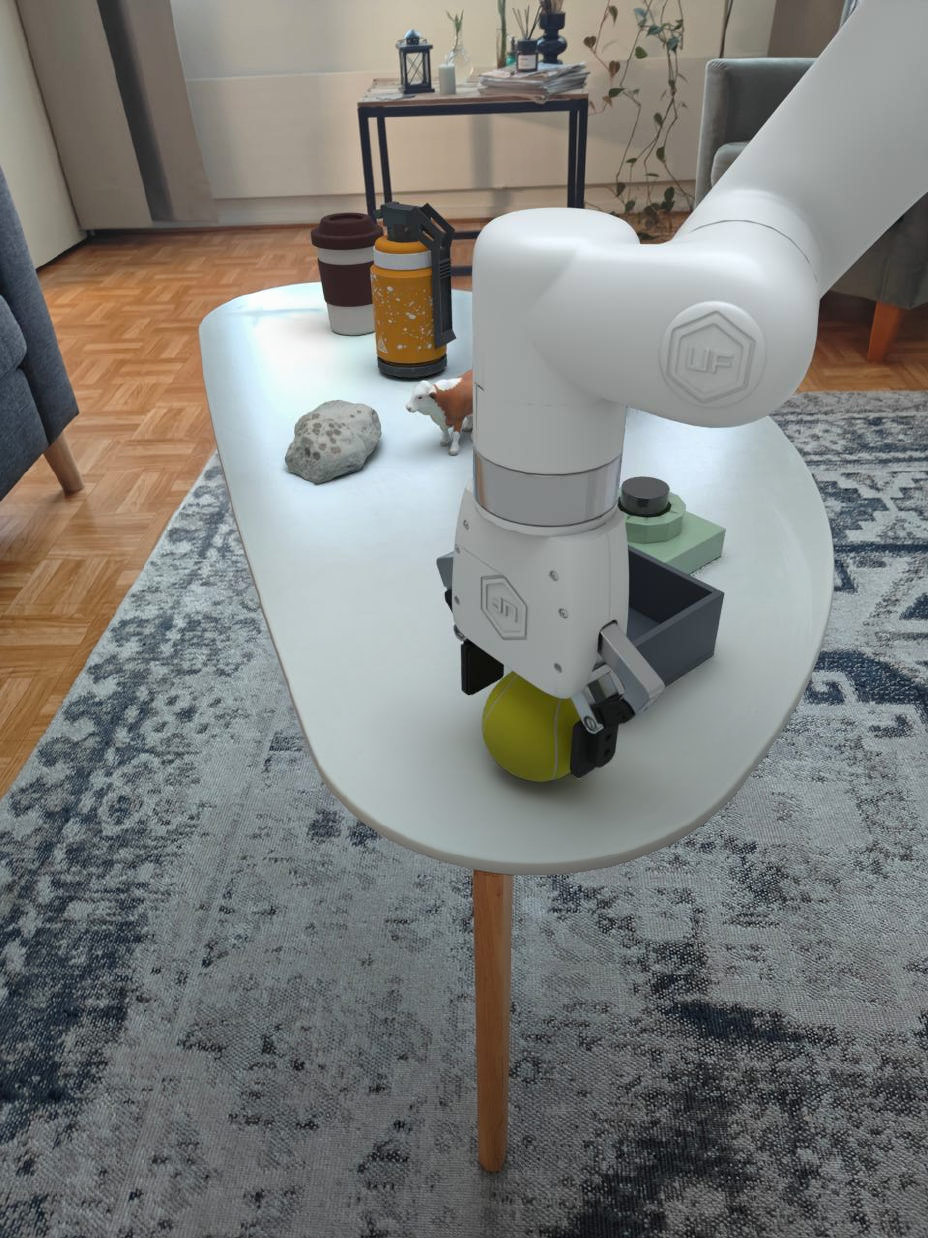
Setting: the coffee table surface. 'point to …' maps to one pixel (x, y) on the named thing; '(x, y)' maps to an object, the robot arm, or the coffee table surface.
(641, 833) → the coffee table surface
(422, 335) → the canister
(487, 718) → the tennis ball
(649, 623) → the bin
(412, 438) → the coffee table surface
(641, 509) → the button top
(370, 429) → the decorative stone
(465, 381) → the bull figurine
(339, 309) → the coffee cup
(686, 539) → the push button base
